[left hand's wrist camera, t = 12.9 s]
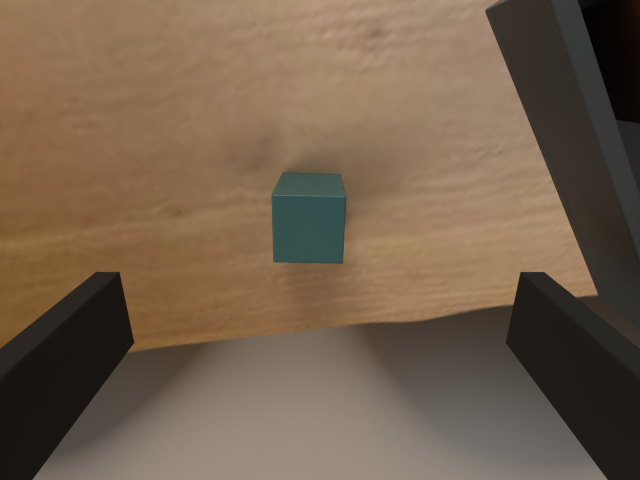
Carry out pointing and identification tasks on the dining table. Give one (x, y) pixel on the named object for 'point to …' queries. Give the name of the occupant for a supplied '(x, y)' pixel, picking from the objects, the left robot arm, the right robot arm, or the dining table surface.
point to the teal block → (308, 218)
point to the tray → (578, 137)
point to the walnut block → (617, 52)
